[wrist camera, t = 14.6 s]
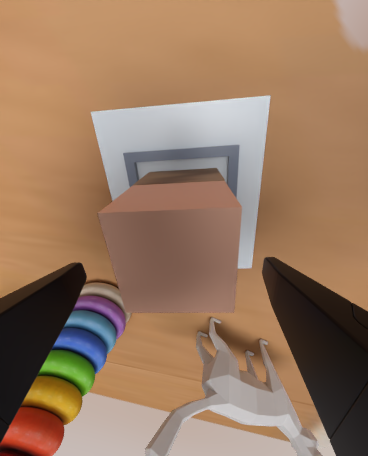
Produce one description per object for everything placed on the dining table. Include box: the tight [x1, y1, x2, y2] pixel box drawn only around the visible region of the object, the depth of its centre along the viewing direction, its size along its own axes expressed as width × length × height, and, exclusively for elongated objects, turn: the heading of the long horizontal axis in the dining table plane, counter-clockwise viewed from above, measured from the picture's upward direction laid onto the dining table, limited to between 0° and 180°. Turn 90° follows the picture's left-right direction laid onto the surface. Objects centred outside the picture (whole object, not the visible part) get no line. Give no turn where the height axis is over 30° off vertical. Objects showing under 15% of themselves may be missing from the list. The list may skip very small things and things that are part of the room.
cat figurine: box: [145, 317, 322, 456], centre depth 21 cm, size 4×20×14 cm, turn 61°
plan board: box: [91, 95, 271, 269], centre depth 18 cm, size 14×16×2 cm
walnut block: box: [133, 168, 225, 185], centre depth 16 cm, size 6×6×5 cm
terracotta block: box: [97, 181, 242, 313], centre depth 11 cm, size 6×6×5 cm
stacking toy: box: [0, 282, 132, 456], centre depth 18 cm, size 8×8×19 cm
